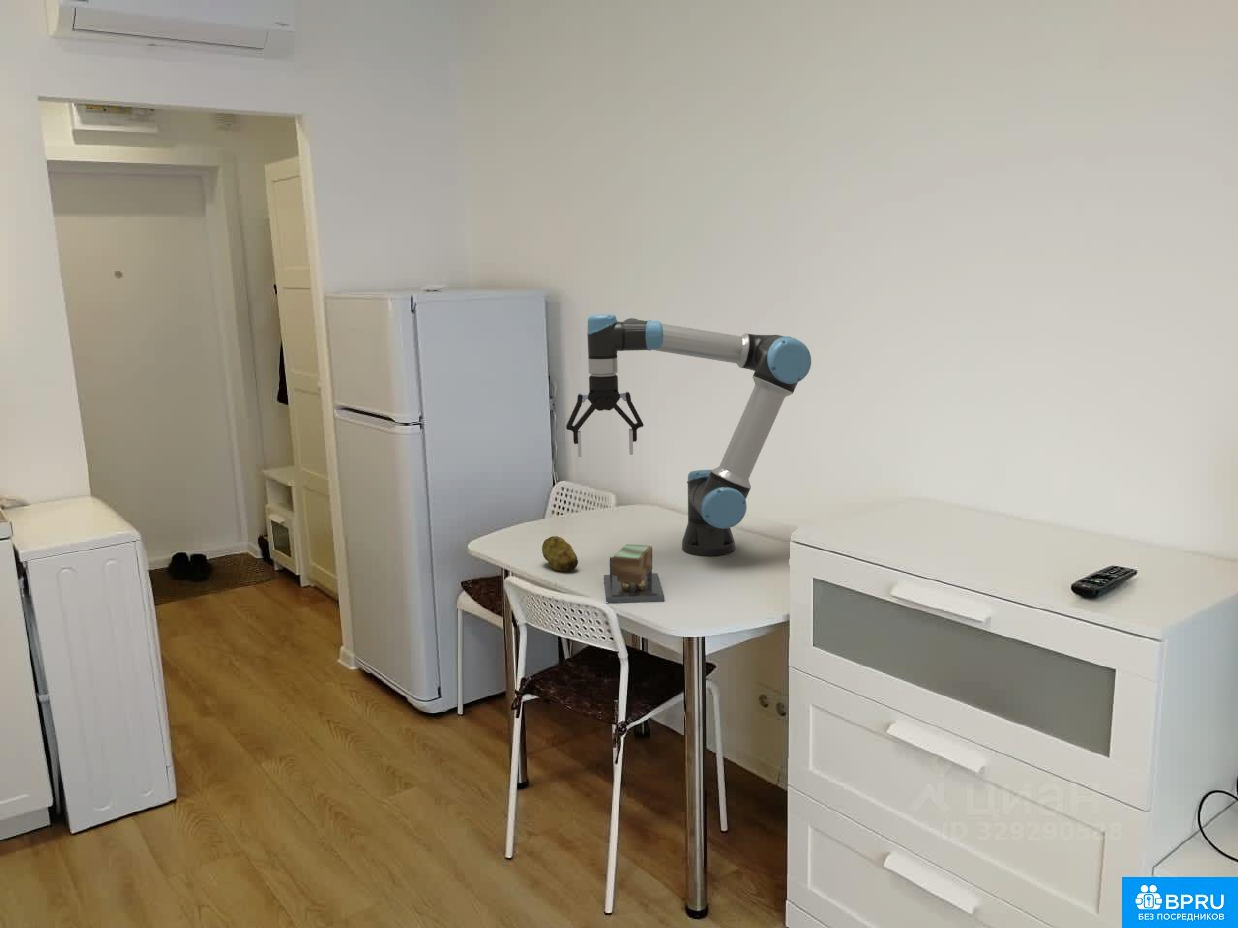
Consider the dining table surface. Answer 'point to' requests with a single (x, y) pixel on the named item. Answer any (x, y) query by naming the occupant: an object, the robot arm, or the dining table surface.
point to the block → (632, 563)
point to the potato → (559, 554)
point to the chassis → (633, 589)
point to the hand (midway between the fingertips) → (605, 455)
